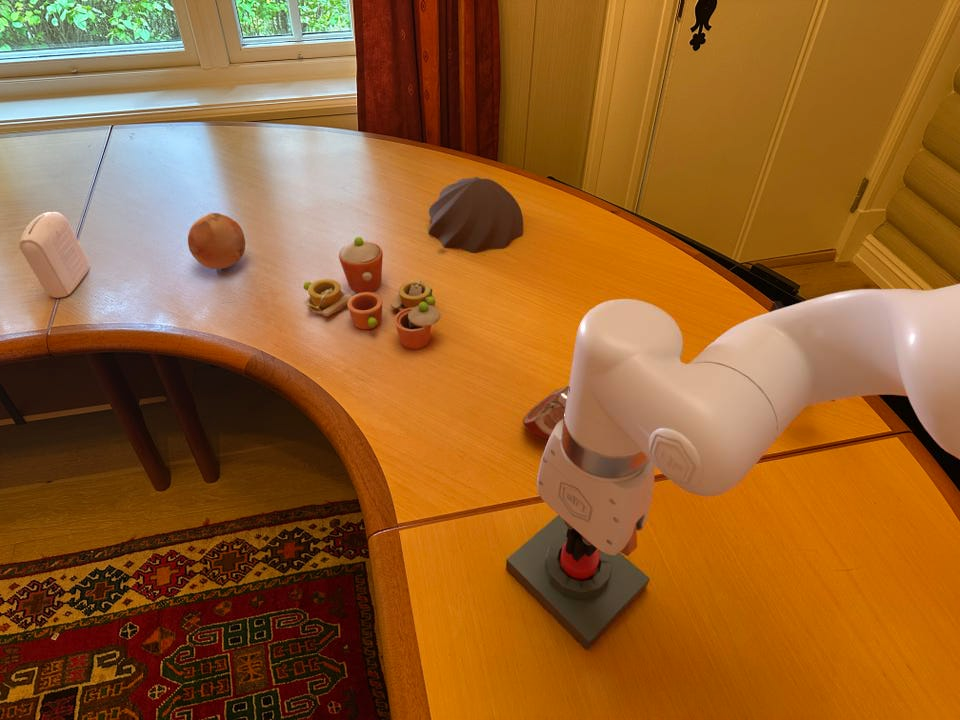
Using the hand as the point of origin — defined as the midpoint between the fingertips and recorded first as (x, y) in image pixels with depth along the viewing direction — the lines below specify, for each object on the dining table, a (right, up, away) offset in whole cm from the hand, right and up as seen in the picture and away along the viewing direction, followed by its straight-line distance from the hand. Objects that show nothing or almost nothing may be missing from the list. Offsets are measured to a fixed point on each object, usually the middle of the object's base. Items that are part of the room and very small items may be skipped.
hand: (580, 547), depth 63 cm
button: (0, -2, +2) cm, 3 cm away
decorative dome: (-11, +47, +60) cm, 77 cm away
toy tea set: (-27, +28, +40) cm, 56 cm away
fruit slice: (-1, +10, +21) cm, 23 cm away
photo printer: (-84, +34, +45) cm, 101 cm away
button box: (0, -5, +4) cm, 6 cm away
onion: (-58, +37, +50) cm, 85 cm away
